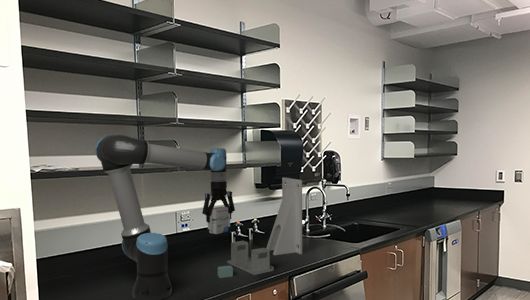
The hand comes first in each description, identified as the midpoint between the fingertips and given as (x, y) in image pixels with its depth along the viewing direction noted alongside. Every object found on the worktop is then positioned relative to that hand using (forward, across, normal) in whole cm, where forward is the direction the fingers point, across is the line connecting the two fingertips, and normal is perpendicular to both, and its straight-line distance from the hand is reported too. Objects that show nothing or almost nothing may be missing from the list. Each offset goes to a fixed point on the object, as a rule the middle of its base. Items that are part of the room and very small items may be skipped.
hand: (219, 227), depth 199 cm
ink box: (+2, 0, 0) cm, 2 cm away
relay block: (+20, -3, -10) cm, 23 cm away
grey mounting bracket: (+20, +44, +7) cm, 49 cm away
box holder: (+20, +14, -6) cm, 25 cm away
